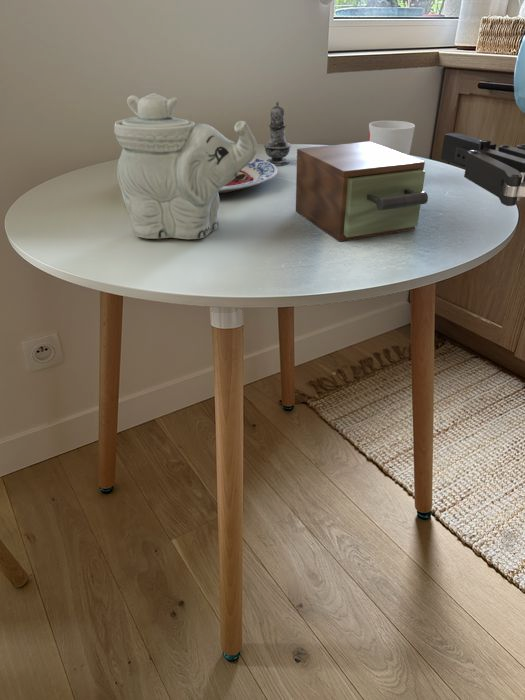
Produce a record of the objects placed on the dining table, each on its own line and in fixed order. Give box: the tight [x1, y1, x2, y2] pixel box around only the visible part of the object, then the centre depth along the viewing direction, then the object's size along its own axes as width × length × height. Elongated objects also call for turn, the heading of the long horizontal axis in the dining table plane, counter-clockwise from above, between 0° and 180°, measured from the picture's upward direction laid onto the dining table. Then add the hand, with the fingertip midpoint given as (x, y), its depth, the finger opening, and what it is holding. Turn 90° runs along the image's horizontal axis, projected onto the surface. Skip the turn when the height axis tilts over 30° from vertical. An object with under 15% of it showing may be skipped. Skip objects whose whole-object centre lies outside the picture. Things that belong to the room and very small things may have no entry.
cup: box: [368, 120, 416, 156], centre depth 100 cm, size 8×8×10 cm
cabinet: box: [295, 140, 426, 242], centre depth 82 cm, size 15×13×10 cm
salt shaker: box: [263, 100, 292, 167], centre depth 113 cm, size 6×6×12 cm
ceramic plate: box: [218, 157, 278, 194], centre depth 103 cm, size 26×26×3 cm
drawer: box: [344, 169, 429, 237], centre depth 79 cm, size 18×12×8 cm, turn 22°
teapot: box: [113, 92, 258, 240], centre depth 76 cm, size 16×15×19 cm
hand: (448, 146), depth 62 cm, fingers closed
